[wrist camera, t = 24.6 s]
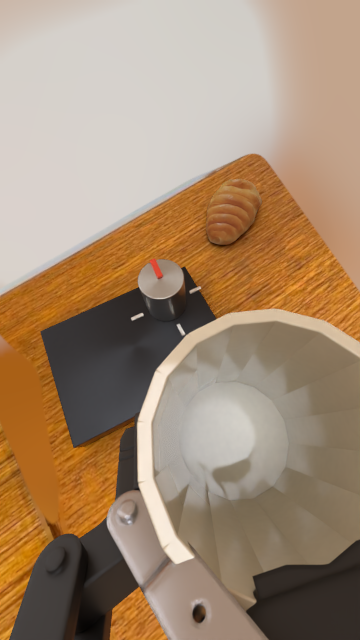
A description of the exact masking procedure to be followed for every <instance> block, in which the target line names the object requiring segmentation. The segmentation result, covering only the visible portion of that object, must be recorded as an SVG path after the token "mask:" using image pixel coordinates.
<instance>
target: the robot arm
mask: <svg viewBox="0 0 360 640" xmlns="http://www.w3.org/2000/svg"><path fill="white" fill-rule="evenodd" d="M139 414H140V412H138V413H135V426H134V427H131V428H128V429H126V430H125V432H124V434H123V436H122V438H121V440H120V453H119V463H118V475H117V487H116V498H115V502H114V503H113V504H112V506H111V507H110V510H109V512H108V515H107V517H106V518H105V519H104V521H102V522H101V523H100V524H99V525H98V526H97V527H95V528H94V529H92V530H91V531H89V532H88V533H86V534H85V535H84V536H82V537H81V538H78V537H77V536H76V535H74V534H64V535H61V536H59V537H57V538H56V539H54V540H53V541H52V542H51V543H49V544H48V545H47V546H46V547H45V549H44V550H43V551H42V552H41V554H40V555H39V557H38V559H37V561H36V563H35V565H34V568H33V571H32V574H31V576H30V579H29V582H28V585H27V588H26V591H25V594H24V597H23V600H22V603H21V606H20V609H19V612H18V615H17V618H16V621H15V624H14V627H13V630H12V633H11V636H10V639H9V640H109V639H110V628H111V618H112V608H114V607H115V606H116V605H117V604H119V603H120V602H121V601H122V600H123V599H125V598H126V597H127V596H128V595H130V594H131V593H132V592H133V591H134V590H136V589H137V588H138V587H139V586H140V588H141V590H142V592H143V594H144V596H145V598H146V600H147V601H148V603H149V605H150V607H151V609H152V610H153V612H154V614H155V616H156V618H157V620H158V621H159V623H160V625H161V627H162V629H163V631H164V632H165V634H166V636H167V638H168V640H360V540H357V541H355V542H354V543H353V544H352V545H350V546H349V547H348V548H347V549H346V550H345V551H343V552H342V553H341V554H340V555H339V556H338V557H336V558H335V559H334V560H333V561H332V562H330V563H329V564H324V565H284V566H281V567H278V568H275V569H272V570H269V571H266V572H263V573H260V574H257V575H255V576H252V577H253V581H254V585H255V588H256V589H255V590H254V591H253V595H254V597H255V599H256V603H255V604H254V605H253V606H251V607H250V608H249V609H248V610H246V611H245V610H244V609H243V608H242V606H241V605H240V604H239V603H238V602H237V600H236V599H235V598H234V597H233V595H232V594H231V593H230V592H229V591H228V589H227V588H226V587H225V586H224V584H223V583H222V582H221V581H220V580H219V578H218V577H217V576H216V575H215V573H214V572H213V571H212V570H211V569H210V567H209V566H208V565H207V564H206V562H205V561H204V560H203V559H202V557H201V556H200V555H199V554H198V553H197V551H196V550H195V549H194V548H193V547H192V545H191V544H190V543H189V542H188V544H189V546H190V548H191V549H192V551H193V553H194V555H195V557H194V558H192V559H189V560H186V561H184V562H181V563H179V564H174V563H173V561H172V560H171V559H170V558H169V557H168V556H167V555H166V553H165V552H164V550H163V548H162V547H161V545H160V542H159V539H158V537H157V534H156V531H155V529H154V526H153V523H152V521H151V518H150V515H149V513H148V510H147V507H146V505H145V502H144V499H143V497H142V494H141V491H140V488H139V486H138V484H139V483H138V474H137V422H138V417H139Z"/></svg>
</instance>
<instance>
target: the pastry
mask: <svg viewBox="0 0 360 640" xmlns="http://www.w3.org/2000/svg"><path fill="white" fill-rule="evenodd" d="M261 204H262V200H261V198H260V196H259V193H258V191H257V190H256V187H255V185H254V184H252V183H251V182H249V181H246V180H243V179H235V180H228V181H226V182H225V183H223V184H222V186H221V187H220V188H219V190H218V191H217V192H216V193H215V194H214V195H213V196H212V198H211V201H210V204H209V206H208V208H207V223H206V232H207V235H208V238H209V240H210V241H211V242H212V243H215V244H219V245H226V244H231V243H232V242H234V241H236V240H237V238H239V237H240V235H242V234H243V233H244V232H245V231H247V230H248V228H249V227H250V225H251V224H252V223H253V222H254V220H255V215H256V213H257V211H258V208H259V207H260V205H261Z"/></svg>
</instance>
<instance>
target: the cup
mask: <svg viewBox="0 0 360 640" xmlns="http://www.w3.org/2000/svg"><path fill="white" fill-rule="evenodd" d="M137 474H138V483H139V484H138V486H139V488H140V491H141V494H142V497H143V499H144V502H145V505H146V507H147V510H148V513H149V515H150V518H151V521H152V523H153V526H154V529H155V531H156V534H157V537H158V539H159V542H160V545H161V547H162V548H163V550H164V552H165V553H166V555H167V556H168V557H169V558H170V559H171V560H172V561H173V563H174V564H179V563H181V562H184V561H186V560H189V559H192V558H194V557H195V555H194V553H193V551H192V549H191V548H190V546H189V544H188V542H189V543H190V544H191V545H192V547H193V548H194V549H195V550H196V551H197V553H198V554H199V555H200V556H201V557H202V559H203V560H204V561H205V562H206V564H207V565H208V566H209V567H210V569H211V570H212V571H213V572H214V573H215V575H216V576H217V577H218V578H219V580H220V581H221V582H222V583H223V584H224V586H225V587H226V588H227V589H228V591H229V592H230V593H231V594H232V595H233V597H234V598H235V599H236V600H237V602H238V603H239V604H240V605H241V606H242V608H243V609H244V610H245V611H246V610H248V609H249V608H250V607H251V606H253V605H254V604H255V603H256V599H255V597H254V595H253V591H254V590H255V589H256V588H255V585H254V581H253V577H252V576H255V575H257V574H260V573H263V572H266V571H269V570H272V569H275V568H278V567H281V566H284V565H324V564H329V563H330V562H332V561H333V560H334V559H335V558H336V557H338V556H339V555H340V554H341V553H342V552H343V551H345V550H346V549H347V548H348V547H349V546H350V545H352V544H353V543H354V542H355V541H357V540H360V342H358V341H357V340H355V339H353V338H352V337H350V336H349V335H347V334H346V333H344V332H342V331H341V330H339V329H338V328H336V327H334V326H333V325H331V324H330V323H328V322H326V321H324V320H320V319H316V318H312V317H308V316H304V315H300V314H296V313H292V312H288V311H284V310H280V309H266V310H255V311H245V312H235V313H229V314H226V315H224V316H222V317H220V318H218V319H216V320H214V321H212V322H210V323H208V324H206V325H204V326H202V327H200V328H198V329H196V330H194V331H192V332H190V333H189V334H188V335H186V336H185V337H184V338H183V340H182V341H181V342H180V343H179V344H178V345H177V346H176V347H175V349H174V350H173V351H172V352H171V353H170V354H169V355H168V357H167V358H166V359H165V360H164V361H163V362H162V363H161V364H160V366H159V367H158V368H157V369H156V371H155V373H154V375H153V378H152V381H151V384H150V386H149V389H148V392H147V395H146V398H145V400H144V403H143V406H142V409H141V411H140V414H139V417H138V422H137Z"/></svg>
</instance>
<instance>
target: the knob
mask: <svg viewBox="0 0 360 640" xmlns="http://www.w3.org/2000/svg"><path fill="white" fill-rule="evenodd" d="M138 285H139V288H140V291H141V293H142V296H143V298H144V301H145V303H146V306H147V308H148V310H149V312H150V314H151V315H152V316H153V317H154V318H156V319H158V320H161V321H170V320H174V319H176V318H178V317H179V316H180V315H181V314H182V313H183V312H184V310H185V308H186V293H185V282H184V274H183V271H182V269H181V268H180V267H179V266H178V265H177V264H176V263H174V262H172V261H170V260H164V259H161V260H155V259H152V260H150V263H148V264H147V265H146V266H144V267H143V269H142V270H141V271H140V274H139V276H138Z"/></svg>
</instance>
